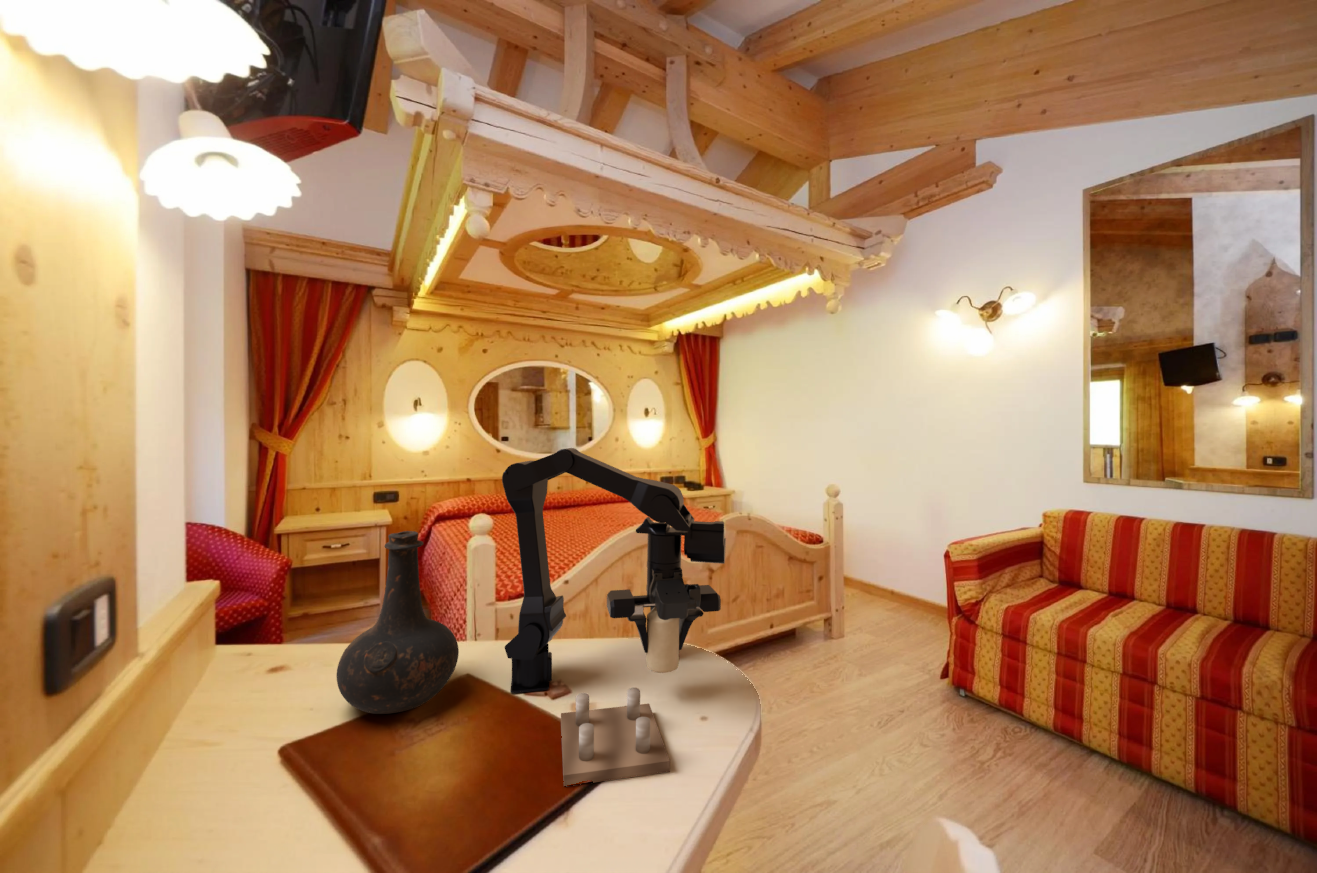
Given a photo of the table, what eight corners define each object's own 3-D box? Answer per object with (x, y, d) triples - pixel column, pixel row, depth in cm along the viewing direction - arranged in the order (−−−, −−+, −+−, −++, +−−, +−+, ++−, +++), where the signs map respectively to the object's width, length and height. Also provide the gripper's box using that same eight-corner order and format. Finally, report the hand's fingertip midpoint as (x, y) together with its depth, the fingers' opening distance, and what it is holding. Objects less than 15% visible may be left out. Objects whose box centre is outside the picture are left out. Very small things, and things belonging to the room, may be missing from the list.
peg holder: (563, 786, 65) (564, 744, 64) (560, 722, 78) (561, 687, 78) (669, 771, 68) (670, 731, 67) (649, 712, 81) (649, 679, 81)
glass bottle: (311, 732, 75) (310, 546, 74) (375, 672, 93) (375, 521, 92) (432, 731, 76) (432, 546, 75) (472, 672, 94) (473, 522, 93)
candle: (675, 675, 82) (676, 614, 82) (642, 671, 84) (643, 611, 83) (680, 659, 88) (681, 603, 88) (650, 656, 89) (651, 600, 89)
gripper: (615, 577, 75) (614, 679, 76) (733, 570, 79) (731, 668, 80) (606, 557, 86) (605, 647, 87) (710, 552, 90) (709, 638, 91)
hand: (662, 650), depth 86 cm, fingers closed on candle, 5 cm apart
